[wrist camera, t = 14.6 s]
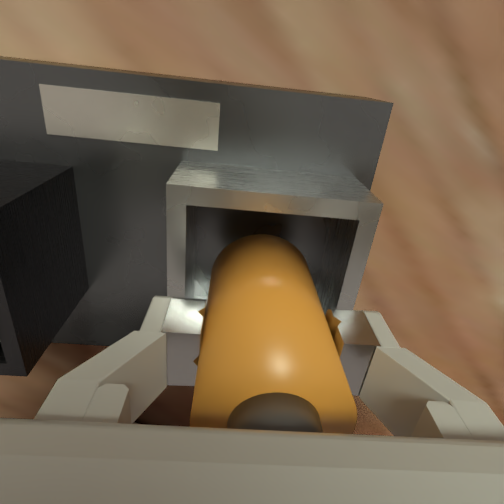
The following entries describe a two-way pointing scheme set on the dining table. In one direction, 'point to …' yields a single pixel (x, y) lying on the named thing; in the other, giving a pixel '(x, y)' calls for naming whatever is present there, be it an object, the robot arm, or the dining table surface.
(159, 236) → the grey socket board
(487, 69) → the dining table surface
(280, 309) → the orange rounded cylinder
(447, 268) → the dining table surface
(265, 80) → the dining table surface
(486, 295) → the dining table surface
